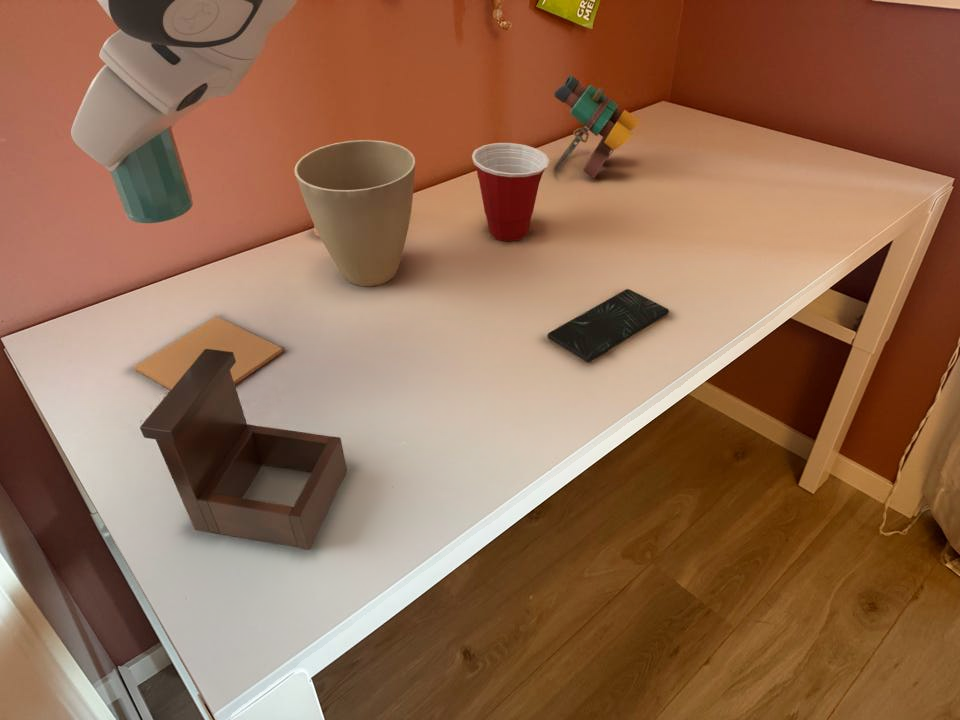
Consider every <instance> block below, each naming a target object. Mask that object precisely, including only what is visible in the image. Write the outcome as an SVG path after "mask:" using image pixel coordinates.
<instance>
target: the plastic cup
mask: <svg viewBox="0 0 960 720" xmlns="http://www.w3.org/2000/svg"><path fill="white" fill-rule="evenodd" d="M471 158H472V159H471V160H472V162H473V164H474V166H475V170H476V174H477V178H478V182H479V188H480V193H481V198H482V204H483V205H482V206H483V211H484V214H485V217H486V218H485V219H486V223H487V228H488V231H489V233H490V236H491V237H492V238H494V239H495V240H498V241H501V242H514V241H515V242H517V241H519V240H522V239H524V238H525V237H527V235H528V232H529V230H530V226H531V221H532V216H533V213H534V208H535V206H536V205H535V204H536V201H537V195H538V191H539V186H540V183H541V179H542V177H543V174H544V172H545V171H546V170H547V168H548V166H549V164H550V159H549V157H548V156H547V154H546V153H544V152H543V151H542V150H540V149H538V148H536V147H532V146H530V145H526V144H520V143H514V142H495V143H489V144H485V145H482V146H479V147H478V148H475V149H474V151H473V152H472V155H471Z"/></svg>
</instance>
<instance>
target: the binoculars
mask: <svg viewBox="0 0 960 720" xmlns="http://www.w3.org/2000/svg"><path fill="white" fill-rule="evenodd" d="M605 92H606V91H605V89H604V88H603V87H599V88H598V89H597V88H596V87H594V86H593V85H592V84H589V85H588V86H587V87H586V86H584V85H583V84H582V83H580V81H579V79H577V78H576V77H574V76H573V75H572V74H569V75H568V76H567V77H566V79H565V82H564V84H563V85H560V86H559V87H557V89H555V91H554V93H553V97H555V98H556V99H557V100H559V101H560V102H561V103H564V104H566V105H567V106H568V107H570V108H571V110H570V111H569V113H570V115H571V116H572V117H574V118H575V119H576V120H577V121H578V122H579V123H580V124H581V125H583V127H578V128H576V129H575V130H573V135H574V136H575V138H573V140H572V141H571V143H570V144H569V145H568V147H567V148H566V149H565V151H564V152H563V154H562V155H561V156H560V158H559V159H558V160H557V162H556V163H555V165H554V166H553V168H552V169H553V170H555V171H556V172H558V171H560V169H561V167H562V166H563V165H564V164H565V162H566V161H567V160H568V158H569V157H570V156H571V155H572V153H573V152H574V150H575V149H576V148H577V146H579V144H580V143H581V142H582V143H587V142H588V139H589V136H590V135H589V132H590V133H592V134H593V135H594V136H595V137H598V136H599V135H600V136H601V137H602V138H601V140H600V141H599V143H598V144H597V145H596V146H597V147H595V148H594V150H593V152H592V154H591V155H590V157H589V158H588V160H587V161H586V163H585V165H584V166H583V169H582V171H583V172H584V173H585V174H587V175H588V176H589V177H591V178H593V179H595V177H596V176H597V174H599V171H600V170H601V168H602V167H603V165H604V163H605V162H606V160H607V159H609V157H610V156H611V155H612V154H613V152H614V151H615V150H617V149H618V148H620V147H622V145H624V144H625V143H626V142H627V141H628V140H629V139H630V138H631V137H632V136H633V134H634V133H633V132H632V131H633V129H635V127H637V126H638V124H639V123H640V122H641V120H639V119H638V118H637V117H635V116H634V115H633V114H631V113H630V112H629V111H627V110H626V109H624V110H623V111H621V110H620V109H618V107H619V105H618V104H617V103H616V102H615V101H614V100H613V99H612V98H610V97H609V96H608V95H605ZM584 135H585V138H583V136H584Z"/></svg>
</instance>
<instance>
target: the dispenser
mask: <svg viewBox="0 0 960 720" xmlns="http://www.w3.org/2000/svg"><path fill="white" fill-rule="evenodd" d="M235 363H236V360H235V356H234V353H233V352H229V351H221V350H213V349H205V350H204V351H203V352H202V353H201V354H200V356H199V357H198V358H197V359H196V360H195V362H194V363H193V364H192V365H191V366H190V368H189V369H188V370H187V371H186V372H185V374H184V375H183V376H182V377H181V378H180V380H179V381H178V382H177V383H176V384H175V386H174V387H173V388H172V389H171V390H169V391H168V393H167V394H165V396H164V397H163V399H162V400H161V401H160V402H159V403H158V405H156V407H155V408H154V409H153V411H152V412H151V413H150V414H149V415H148V417H147V418H145V420H144V421H143V422H142V423H141V425H140V426H139V429H140V432H141V434H142V436H143V438H145V439H151V440H155V442H156V444H157V446H158V449H159V451H160V453H161V455H162V458H163V460H164V462H165V465H166V467H167V469H168V472H169V474H170V477H171V479H172V481H173V483H174V485H175V487H176V491H177V492H178V495H179V497H180V499H181V501H182V504H183V506H184V508H185V511H186V513H187V515H188V517H189V520H190V522H191V524H192V527H193V529H194V530H196V531H203V532H207V533H209V532H210V533H213V534H217V535H225V536H231V537H237V538H242V539H249V540H253V541H254V540H255V541H260V542H265V543H271V544H277V545H282V546H288V547H293V548H300V549H305V550H309V549H310V548H311V546H312V544H313V542H314V539H315V537H316V535H317V533H318V532H319V529H320V527H321V525H322V523H323V521H324V519H325V517H326V515H327V512H328V511H329V509H330V506H331V504H332V502H333V500H334V498H335V497H336V494H337V492H338V491H339V488H340V486H341V483H342V481H343V480H344V477H346V476H345V475H346V474H347V471H348V466H347V463H346V458H345V452H344V447H343V443H342V438H341V437H339V436H332V435H331V436H330V435H325V434H317V433H310V432H303V431H298V430H297V431H295V430H291V429H290V430H289V429H282V428H277V427H269V426H261V425H256V424H249V423H247V419H246V416H245V412H244V409H243V406H242V404H241V403H242V402H241V399H240V397H239V394H238V391H237V387H236V384H234V381H233V378H232V375H231V372H230V369H231V368H232V367H233V365H234V364H235ZM263 465H264V466H269V467H274V468H275V467H276V468H282V469H290V470H295V471H302V472H309V473H310V474H309V477H308V478H307V480H306V482H305V484H304V486H303V488H302V490H301V491H300V493H299V495H298V497H297V499H296V501H295V503H294V505H287V504H280V503H276V502H268V501H263V500H258V499H257V500H256V499H250V498H245V497H244V496H245V494H246V492H247V491H248V489H249V488H250V485H251V484H252V483H253V480H254V479H255V478H256V475H257V474H258V473H259V471H260V469H261V468H262V466H263Z"/></svg>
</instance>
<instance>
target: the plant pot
mask: <svg viewBox="0 0 960 720" xmlns="http://www.w3.org/2000/svg"><path fill="white" fill-rule="evenodd" d="M293 170H294V171H293V172H294V175H295V179H296V182H297V184H298V187H299V190H300V193H301V196H302V199H303V200H304V203H305V206H306V209H307V211H308V214H309V213H310V215H309V217H310V216H311V218H312V220H313V223H314V225H315V227H316V229H317V231H318V233H319V235H320V237H319V238H320V239H321V241H322V243H323V245H324V247H325V249H326V251H327V252H328V254H329V256H330V257H331V259H332V261H333V262H334V264H335V266H336V267H337V269H338V271H339V272H340V273H341V276H343V278H344V279H345V280H346V281H347V282H348V283H350V284H352V285H355V286H360V287H373V286H378V285H382V284H385V283H388V282H389V281H390V280H392V279H393V278H394V277H395V276H396V274H397V272H398V270H399V266H400V262H401V259H402V256H403V253H404V250H405V245H406V241H407V238H408V237H407V236H408V232H409V225H410V221H411V215H412V208H413V199H414V187H415V176H416V175H415V174H416V157H415V155H414V154H413V153H412V151H410V150H409V149H408V148H406V147H404V146H403V145H400V144H397V143H395V142H390V141H384V140H373V139H372V140H371V139H359V140H347V141H341V142H335V143H330V144H328V145H327V144H326V145H324V146H320V147H318V148H315V149H313V150H311V151H310V152H308V153H306V154H304V155H303V156H302V157H301V158H300V159H298V161H296V164H295V166H294V169H293Z"/></svg>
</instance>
